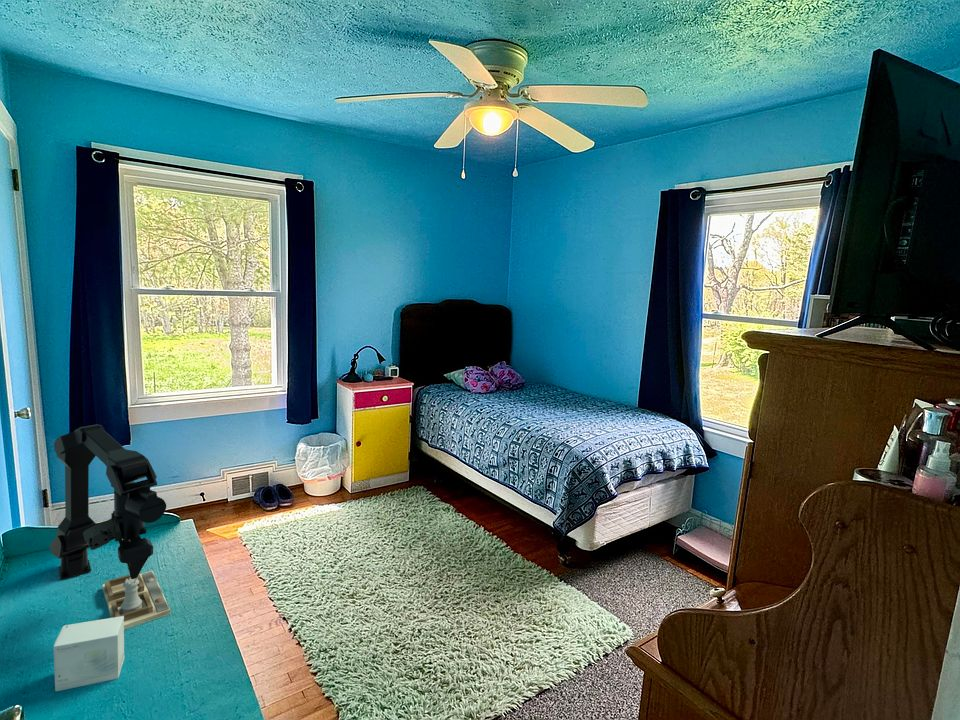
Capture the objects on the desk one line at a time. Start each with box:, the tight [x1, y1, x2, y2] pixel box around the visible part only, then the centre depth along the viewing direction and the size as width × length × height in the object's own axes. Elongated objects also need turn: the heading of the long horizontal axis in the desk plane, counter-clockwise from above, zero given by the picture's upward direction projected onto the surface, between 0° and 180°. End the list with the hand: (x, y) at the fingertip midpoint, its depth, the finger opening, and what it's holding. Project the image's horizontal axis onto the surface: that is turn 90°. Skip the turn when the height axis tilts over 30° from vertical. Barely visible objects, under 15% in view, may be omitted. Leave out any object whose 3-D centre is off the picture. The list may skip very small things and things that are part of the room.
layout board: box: [101, 570, 171, 631], centre depth 125 cm, size 20×11×3 cm, turn 44°
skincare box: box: [53, 616, 126, 692], centre depth 102 cm, size 10×6×10 cm, turn 115°
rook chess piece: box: [120, 577, 143, 614], centre depth 120 cm, size 4×4×8 cm
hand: (130, 569), depth 119 cm, fingers open, 9 cm apart
